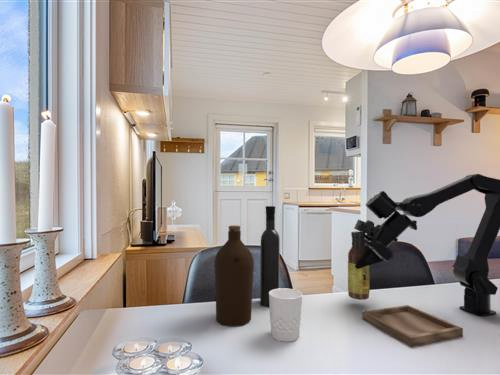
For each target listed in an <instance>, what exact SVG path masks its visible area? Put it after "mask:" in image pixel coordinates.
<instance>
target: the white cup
mask: <svg viewBox="0 0 500 375" xmlns="http://www.w3.org/2000/svg"><path fill="white" fill-rule="evenodd" d="M302 303H303V293H302V292H301V291H300V290H297V289H293V288H286V287H285V288H284V287H283V288H281V287H279V289H273V290H271V291H270V292H269V306H268V307H269V322H270V336H271V337H272V338H273V339H275V340H276V341H279V342H286V343H288V342H289V343H290V342H294V341H297V340H299V338H300V332H301V330H300V328H301V321H302V305H303V304H302Z"/></svg>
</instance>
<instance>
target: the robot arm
mask: <svg viewBox="0 0 500 375" xmlns="http://www.w3.org/2000/svg"><path fill="white" fill-rule="evenodd" d="M473 190H475V191H476V192H478V193H479V194H480V193H481V194H483V195H484V204H485V208H484V212H483V214H482V217H481V219H480V222H479V224H478V227H477V228H476V232H475V234H474V236H473V239H472V241H471V244H470V245H469V249H468V251H467V252H466V253H465V254H464V255H460V254H457V256H456V258H455V262H454V263H453V265H451V266H452V268H453V271H452V273H453V275H454V277H455V278H456V280H458V281H459V284H460V286H462V287H464V289H463V290H464V293H463V305H460V306H459V309H460V310H462V311H466V312H467V313H471V314H475V315H477V316H480V317H484V316H485V317H486V316H489V315H490V316H491V315H496V314H497V311H496V310H492V309H491V308H492V307H491V295H492V296H494V295H496V293H497V292H498V286H496V284H495V283H493V282H492V281H491V280H490V279H489V278H488V277H489V273H490V267H489V262H488V261H489V260H488V259H489V256H490V254H491V251H492V249H493V247H494V243H495V241H496V239H497V237H498V234H499V232H500V179H498V178H494V177H489V176H485V175H483V174H480V173H474V174H473V173H472V174H468V175H466V176H465V177H462V178H461V179H458V180H456V181H453V182H451V183H448V184H447V185H445V186H441V187H440V188H438V189H435V190H433V191H431V192H428V193H424V194H418V195H414V196H410V197H406V198H405V199H403V200H402V201H400V202H399V201H396V202H395V201H394V200H393V199H392V198H391V197H390V196H389V194H387V192H385V191H384V190H382V191H380V192H379V193H377V194H376V195H374V196H373V197H371V198H370V199H369V200H368V201H367V202H366V203H365V207H366V208H367V209H368V210H369V211H370V212H372V213H373V215H375V216H376V217H377V218H378V219H382V218H383V219H384V221H383V223H382V224H376V226H375V222H373V221H371V220H369V219H368V220H366V221H364V220H361V219H357V221H356V223H355V225H354V228H353V229H355V231H357V232H364V233H365V248H366V251H365V253H364V254H363V256H362V257H361V258H360V260H359V261H358V262H357V264H356V265H355V267H356V268H357V269H359V268H362V267H365V266H368V265H369V266H371V265H374V264H378V263H381V262H382V263H383V262H384V261H386V262H387V263H389V262H390V261H391V260H393V258H394V256H393V255H394V253H393V252H392V250H391V249H389V248H388V247H389V246H390V245H391V244H392V243H393V242H394V243H397V242H398V241H399V239H398V237H400V236H401V235H402V234H403V233H404V232H405V231H406V230H407V229H408V228H410V229H411V230H414V231H417V230H418V225H417V223H418V221H417V220H413V219H411V218H410V217H415V218H422V217H424V216H425V215H428V214H429V213H430V212H432V211H434V209H435V208H436V207H438V206H439V205H441V204H443V203H445V202H447V201H450V200H452V199H454V198H456V197H459V196H462V195H465V194H466V193H468V192H471V191H473ZM399 211H400V212H402V213H403V214H402V213H400V212H399Z"/></svg>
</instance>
